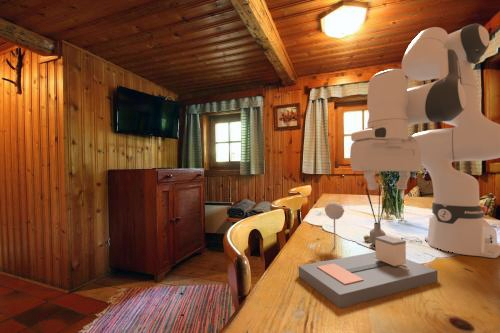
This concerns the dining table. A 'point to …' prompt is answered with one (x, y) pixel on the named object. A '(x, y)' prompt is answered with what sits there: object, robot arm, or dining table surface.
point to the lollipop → (334, 212)
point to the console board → (363, 278)
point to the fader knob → (390, 250)
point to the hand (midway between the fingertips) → (387, 189)
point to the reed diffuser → (377, 227)
